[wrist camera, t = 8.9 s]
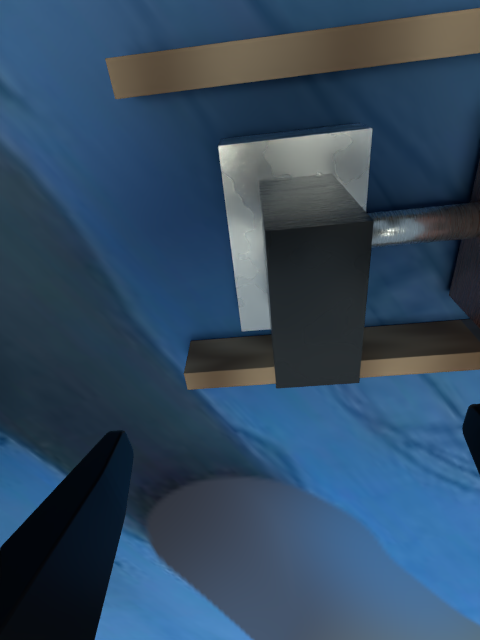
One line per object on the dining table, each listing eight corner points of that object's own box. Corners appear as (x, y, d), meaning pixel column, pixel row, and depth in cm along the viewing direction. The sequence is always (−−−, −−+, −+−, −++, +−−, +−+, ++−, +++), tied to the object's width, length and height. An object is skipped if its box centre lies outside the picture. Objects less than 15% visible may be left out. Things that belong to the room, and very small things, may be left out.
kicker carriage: (242, 311, 21) (240, 419, 15) (220, 139, 16) (203, 181, 10) (478, 291, 20) (591, 396, 14) (530, 102, 16) (745, 122, 9)
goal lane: (194, 356, 24) (180, 431, 19) (128, 61, 15) (70, 53, 10) (608, 324, 22) (716, 399, 17) (791, -28, 13) (1115, -89, 8)
